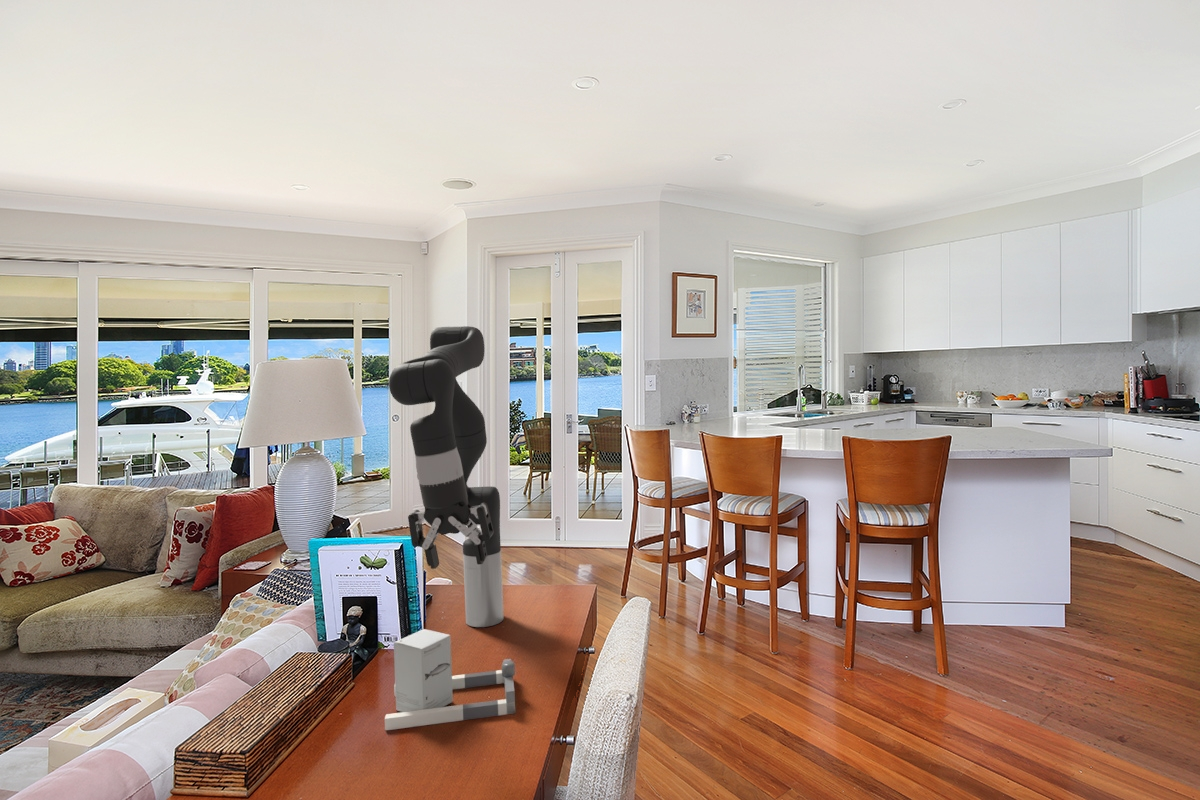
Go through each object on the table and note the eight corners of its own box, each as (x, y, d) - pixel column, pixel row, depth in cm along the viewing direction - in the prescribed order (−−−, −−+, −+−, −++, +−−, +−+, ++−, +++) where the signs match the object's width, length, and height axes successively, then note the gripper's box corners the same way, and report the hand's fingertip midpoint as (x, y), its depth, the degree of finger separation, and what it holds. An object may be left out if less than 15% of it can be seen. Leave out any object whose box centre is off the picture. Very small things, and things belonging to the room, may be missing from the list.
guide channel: (395, 692, 120) (394, 661, 120) (514, 678, 124) (512, 648, 124) (385, 730, 107) (383, 695, 107) (518, 712, 111) (516, 679, 111)
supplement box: (423, 721, 110) (420, 649, 109) (395, 710, 114) (391, 641, 113) (454, 702, 116) (451, 634, 116) (426, 693, 120) (423, 627, 120)
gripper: (487, 465, 111) (502, 552, 113) (411, 474, 113) (428, 559, 115) (473, 478, 103) (490, 570, 106) (392, 487, 106) (411, 577, 108)
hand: (458, 564), depth 111 cm, fingers open, 8 cm apart
